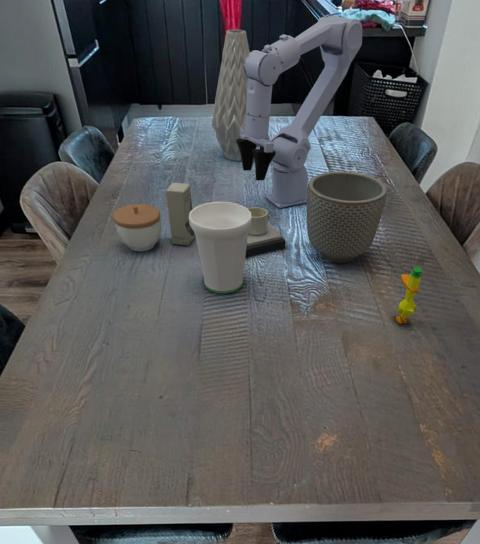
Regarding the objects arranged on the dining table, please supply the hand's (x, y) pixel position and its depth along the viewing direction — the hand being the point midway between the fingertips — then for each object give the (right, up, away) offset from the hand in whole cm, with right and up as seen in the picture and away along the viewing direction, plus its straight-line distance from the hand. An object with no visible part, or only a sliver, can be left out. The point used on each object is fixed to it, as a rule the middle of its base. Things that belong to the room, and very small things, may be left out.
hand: (253, 174), depth 122 cm
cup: (-6, -33, -18) cm, 38 cm away
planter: (+21, -23, -8) cm, 32 cm away
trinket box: (-27, -21, -7) cm, 35 cm away
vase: (-6, +24, +35) cm, 43 cm away
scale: (0, -19, -5) cm, 20 cm away
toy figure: (+31, -43, -26) cm, 59 cm away
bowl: (+1, -17, -7) cm, 18 cm away
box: (-17, -19, -5) cm, 26 cm away
